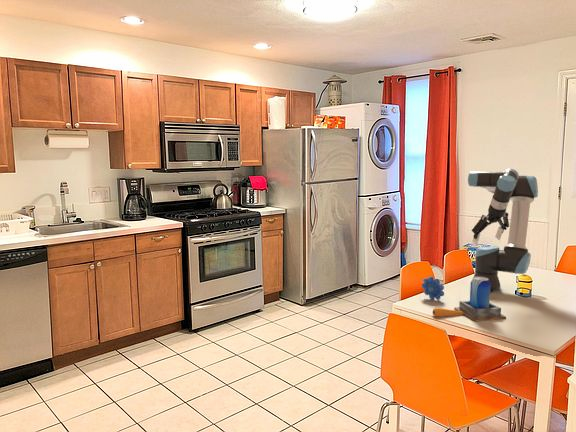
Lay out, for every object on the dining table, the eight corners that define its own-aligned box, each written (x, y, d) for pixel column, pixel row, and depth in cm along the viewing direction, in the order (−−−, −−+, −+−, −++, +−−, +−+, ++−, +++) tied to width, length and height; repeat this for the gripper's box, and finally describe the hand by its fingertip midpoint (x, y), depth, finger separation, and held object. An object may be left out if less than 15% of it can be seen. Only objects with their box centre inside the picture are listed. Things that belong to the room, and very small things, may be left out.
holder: (484, 307, 217) (484, 298, 217) (506, 318, 202) (506, 309, 201) (454, 309, 214) (454, 300, 214) (473, 321, 199) (474, 311, 198)
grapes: (418, 299, 230) (419, 276, 228) (422, 296, 235) (423, 274, 234) (441, 303, 223) (442, 280, 222) (445, 300, 229) (446, 277, 227)
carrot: (434, 319, 204) (437, 312, 202) (430, 312, 208) (433, 305, 206) (473, 320, 208) (477, 313, 206) (469, 314, 212) (472, 307, 209)
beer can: (480, 316, 202) (482, 281, 200) (465, 310, 210) (466, 277, 208) (493, 313, 206) (494, 279, 204) (477, 307, 214) (479, 275, 212)
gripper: (481, 214, 208) (469, 249, 220) (525, 206, 214) (511, 240, 226) (471, 205, 214) (460, 240, 226) (514, 197, 220) (501, 232, 232)
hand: (486, 240), depth 226 cm, fingers open, 13 cm apart
